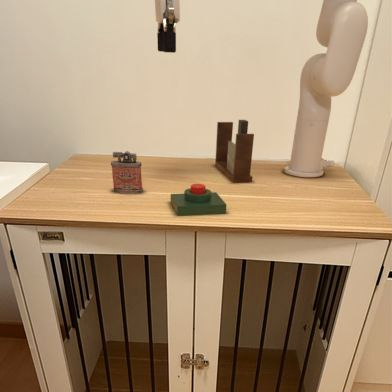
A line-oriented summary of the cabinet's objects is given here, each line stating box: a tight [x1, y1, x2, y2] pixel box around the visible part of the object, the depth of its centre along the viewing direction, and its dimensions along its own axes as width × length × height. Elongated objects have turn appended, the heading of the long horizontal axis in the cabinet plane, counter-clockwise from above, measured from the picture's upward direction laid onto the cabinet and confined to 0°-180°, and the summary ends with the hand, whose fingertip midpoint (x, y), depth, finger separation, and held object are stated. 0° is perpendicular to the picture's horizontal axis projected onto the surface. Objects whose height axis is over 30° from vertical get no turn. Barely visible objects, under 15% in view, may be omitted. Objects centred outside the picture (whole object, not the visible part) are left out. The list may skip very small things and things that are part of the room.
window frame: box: [214, 121, 255, 184], centre depth 127 cm, size 6×22×13 cm, turn 12°
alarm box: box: [170, 187, 227, 217], centre depth 101 cm, size 12×10×4 cm
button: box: [190, 183, 206, 194], centre depth 100 cm, size 4×4×2 cm
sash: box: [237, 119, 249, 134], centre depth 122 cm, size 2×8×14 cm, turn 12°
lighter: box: [110, 150, 144, 194], centre depth 109 cm, size 8×3×10 cm, turn 88°
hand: (166, 51), depth 107 cm, fingers open, 9 cm apart
